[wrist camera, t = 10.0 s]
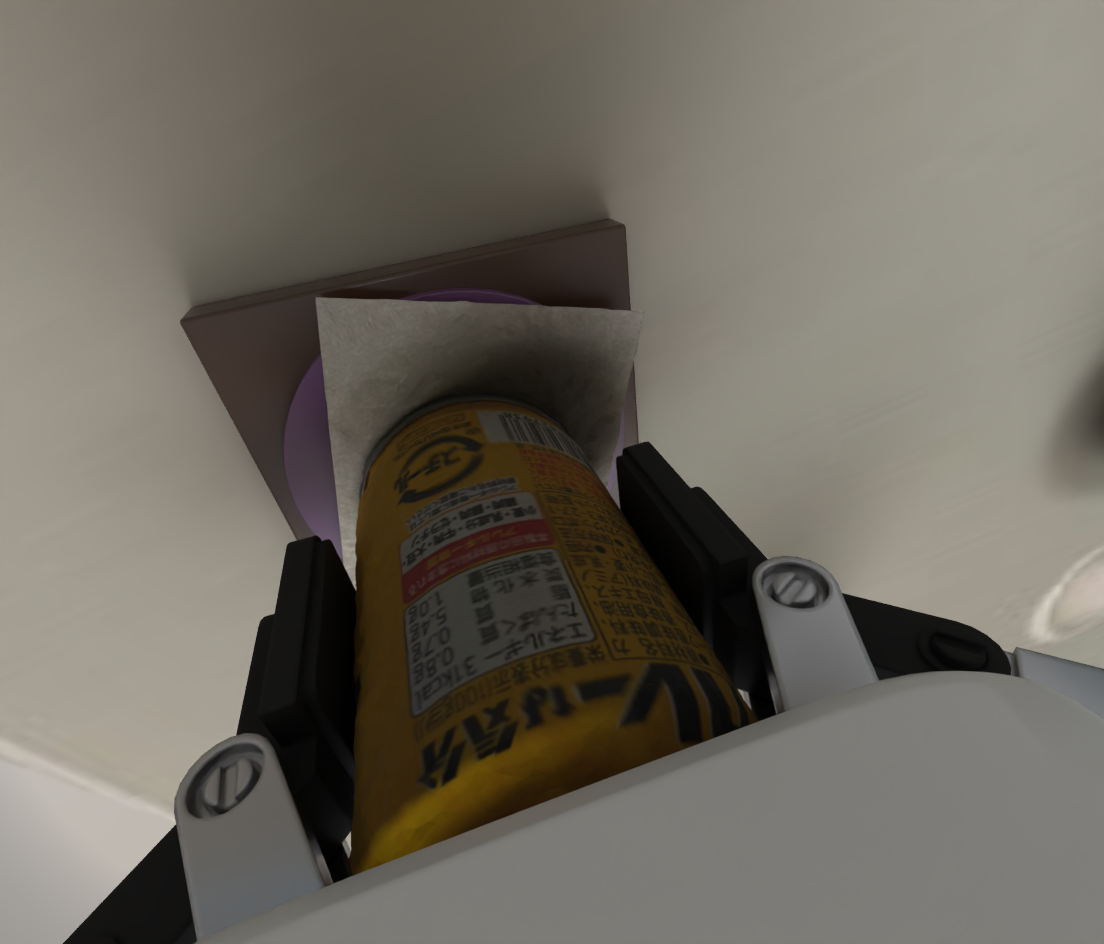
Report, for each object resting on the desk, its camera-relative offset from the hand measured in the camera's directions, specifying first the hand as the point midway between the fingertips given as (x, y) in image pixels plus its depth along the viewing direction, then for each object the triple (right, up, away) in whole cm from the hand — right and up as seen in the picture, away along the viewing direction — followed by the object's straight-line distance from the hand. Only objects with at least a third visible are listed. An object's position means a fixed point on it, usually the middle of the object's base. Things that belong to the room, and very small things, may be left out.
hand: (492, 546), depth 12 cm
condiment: (-1, +2, +3) cm, 3 cm away
